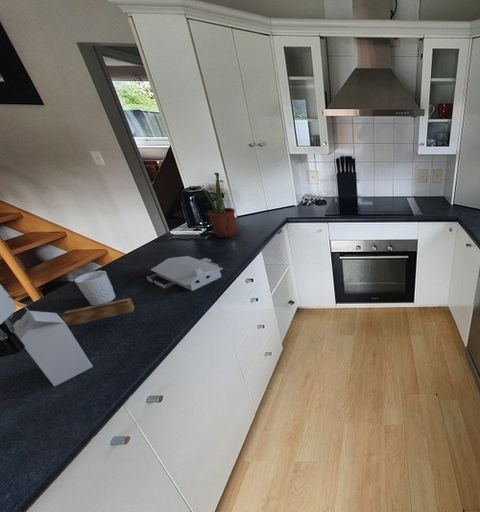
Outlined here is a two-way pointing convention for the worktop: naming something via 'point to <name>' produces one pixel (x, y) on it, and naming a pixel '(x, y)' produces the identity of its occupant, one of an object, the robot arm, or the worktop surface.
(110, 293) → the white cup
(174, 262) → the grey portable case
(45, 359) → the milk carton
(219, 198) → the potted plant
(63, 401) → the worktop surface
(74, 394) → the worktop surface
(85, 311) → the rail
